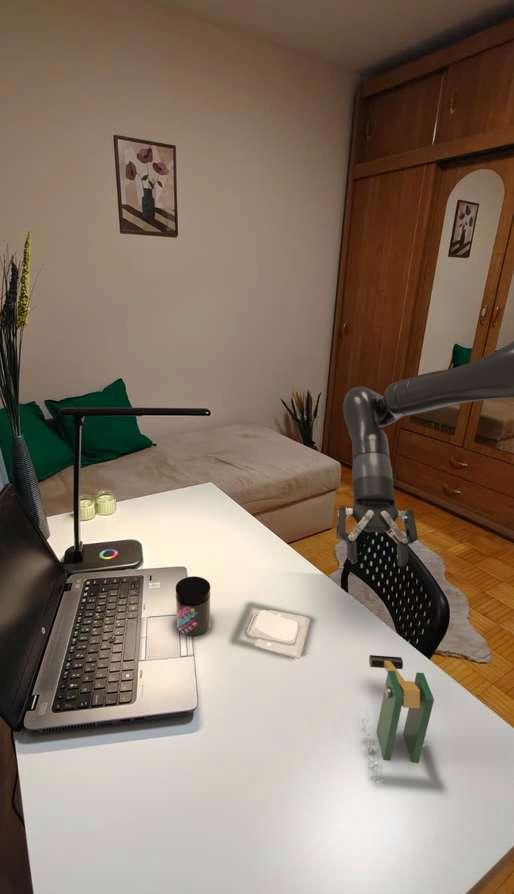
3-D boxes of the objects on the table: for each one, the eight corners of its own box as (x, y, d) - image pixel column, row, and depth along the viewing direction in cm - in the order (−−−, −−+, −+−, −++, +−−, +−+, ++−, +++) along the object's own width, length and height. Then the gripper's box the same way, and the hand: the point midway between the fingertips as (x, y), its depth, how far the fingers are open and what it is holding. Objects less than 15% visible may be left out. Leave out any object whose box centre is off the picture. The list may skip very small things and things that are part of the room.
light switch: (250, 596, 93) (310, 607, 89) (250, 612, 94) (310, 624, 90) (233, 632, 83) (300, 646, 79) (234, 649, 85) (300, 664, 81)
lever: (368, 666, 74) (369, 651, 74) (399, 668, 73) (399, 653, 73) (392, 706, 60) (393, 688, 60) (430, 709, 60) (430, 691, 60)
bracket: (361, 719, 71) (372, 654, 66) (412, 723, 70) (427, 657, 65) (375, 786, 62) (390, 715, 57) (434, 791, 61) (454, 720, 56)
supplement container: (175, 620, 91) (173, 578, 87) (207, 615, 92) (207, 574, 89) (178, 644, 85) (177, 601, 81) (213, 639, 86) (213, 596, 82)
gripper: (339, 471, 83) (342, 558, 77) (416, 475, 82) (425, 563, 76) (332, 485, 90) (334, 565, 84) (403, 488, 89) (411, 570, 83)
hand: (378, 564), depth 80 cm, fingers open, 8 cm apart
